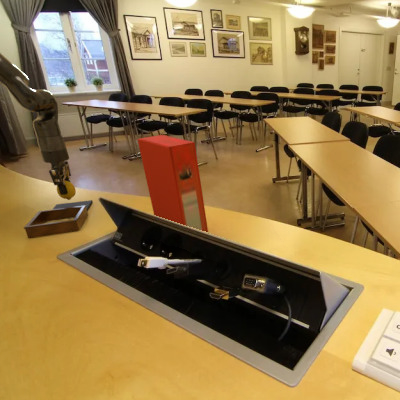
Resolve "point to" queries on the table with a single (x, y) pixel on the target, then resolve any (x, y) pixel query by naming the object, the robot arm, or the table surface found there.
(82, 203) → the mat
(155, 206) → the file binder
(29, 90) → the robot arm
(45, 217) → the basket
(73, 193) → the lemon
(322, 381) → the table surface
